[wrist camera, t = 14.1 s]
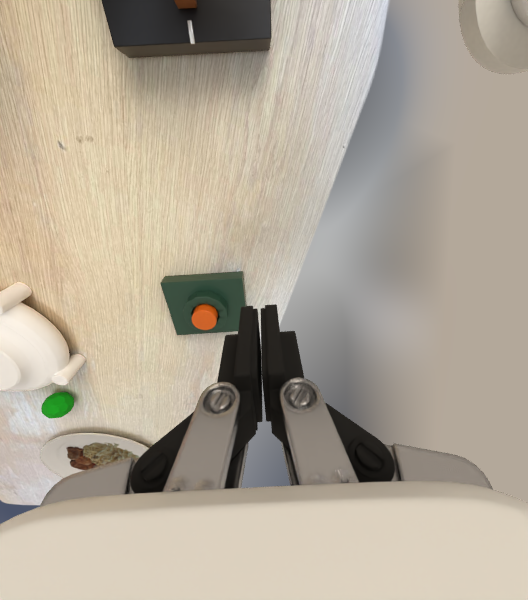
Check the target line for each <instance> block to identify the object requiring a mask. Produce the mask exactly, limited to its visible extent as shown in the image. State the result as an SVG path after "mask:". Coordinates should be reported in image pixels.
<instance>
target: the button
mask: <svg viewBox="0 0 528 600" xmlns="http://www.w3.org/2000/svg"><path fill="white" fill-rule="evenodd" d="M217 317H218V313H217V310H216V309H215V308H214V307H213V306H211V305H208V304H202V305H199V306H197V307H196V308H195V310H194V312H193V315H192V323H193V325H194V326H195V327H197V328H198V329H201V330H209V329H212V328H213V327H214V326H215V325H216V322H217Z"/></svg>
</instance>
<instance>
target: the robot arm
mask: <svg viewBox="0 0 528 600" xmlns="http://www.w3.org/2000/svg"><path fill="white" fill-rule="evenodd" d="M511 3H512V7H513V10H514V11H515V13H516V15H517V17H518V19H519V20H520V21H521V22H522V23H523V24H524V25H525V26H528V0H511ZM261 351H262V367H261ZM262 380H263V391H264V401H265V412H266V421H271V425H272V433H273V434H274V435H275V436H276V437H277V438H278V439H279V440H280V441H281V443H282V449H283V453H284V458H285V462H286V467H287V471H288V476H289V481H290V485H291V486H277V487H276V486H275V487H254V488H241V485H242V480H243V474H244V468H245V462H246V456H247V450H248V442H249V441H250V439H251V438H252V437H253V436H254V435H255V434H256V430H257V422H262ZM0 600H528V503H527V502H525V501H523V500H520V499H518V498H515V497H513V496H510V495H507V494H505V493H502V492H499V491H496V490H493V489H492V486H491V484H490V482H489V481H488V479H487V478H486V476H485V475H484V473H483V472H482V471H481V470H480V469H479V468H478V467H477V466H476V465H475V464H473V463H472V462H470V461H469V460H467V459H465V458H463V457H460V456H457V455H453V454H448V453H442V452H437V451H431V450H427V449H421V448H416V447H411V446H405V445H399V444H393V446H390V445H385V444H383V443H382V442H381V441H380V440H378V439H377V438H376V437H374V436H373V435H371V434H370V433H368V432H367V431H366V430H364V429H363V428H361V427H360V426H358V425H357V424H355V423H354V422H352V421H351V420H350V419H348V418H347V417H345V416H344V415H342V414H341V413H340V412H338V411H337V410H335V409H334V408H332V407H331V406H329V405H328V404H327V403H325V402H324V399H323V397H322V395H321V393H320V390H319V389H318V387H317V386H316V385H315V384H314V383H313V382H311V381H310V380H308V379H304V375H303V370H302V365H301V360H300V354H299V349H298V344H297V339H296V334H295V331H287V332H280V330H279V322H278V313H277V305H265V308H261V344H260V333H259V322H258V311H257V309H253V306H243V307H241V311H240V321H239V330H238V334H235V335H226V336H225V341H224V346H223V352H222V358H221V364H220V370H219V376H218V381H217V383H215V384H212V385H211V386H209V387H207V388H206V389H205V390H204V391H203V393H202V394H201V396H200V398H199V401H198V403H197V406H196V408H195V411H194V412H193V413H192V414H191V415H190V416H188V417H187V418H186V419H185V420H183V421H182V422H181V423H180V424H179V425H177V426H176V427H175V428H174V429H172V430H171V431H170V432H169V433H168V434H166V435H165V436H164V437H163V438H161V439H160V440H159V441H158V442H156V443H155V444H154V445H153V446H152V447H150V448H149V449H148V450H147V451H146V452H145V453H144V454H143V455H142V456H141V457H139V458H135V459H133V457H129V458H125V459H122V460H119V461H115V462H112V463H108V464H105V465H102V466H98V467H95V468H91V469H88V470H85V471H81V472H78V473H74V474H72V475H69V476H67V477H65V478H63V479H62V480H61V481H59V482H58V483H57V484H55V485H54V486H53V487H52V489H51V490H50V491H49V492H48V493H47V494H46V496H45V498H44V500H43V501H42V503H41V505H40V507H38V508H35V509H33V510H31V511H28V512H25V513H23V514H20V515H18V516H16V517H14V518H12V519H10V520H8V521H6V522H4V523H2V524H0Z"/></svg>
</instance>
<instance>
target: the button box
mask: <svg viewBox="0 0 528 600" xmlns="http://www.w3.org/2000/svg"><path fill="white" fill-rule="evenodd" d="M161 286H162V289H163V293H164V296H165V299H166V302H167V305H168V308H169V311H170V314H171V317H172V320H173V323H174V327H175V330H176V333H177V335H187V334H202V333H217V332H233V331H238V330H239V321H240V311H241V307H243V306H246V296H245V287H244V278H243V272H227V273H211V274H195V275H180V276H165V277H164V279H163V280H162V282H161ZM202 304H208V305H211V306H213V307H214V308H215V309H216V310H217V313H218V317H217V322H216V325H215V326H214V327H213V328H212V329H209V330H201V329H198V328H197V327H195V326H194V325H193V323H192V315H193V312H194V310H195V308H196V307H197V306H199V305H202Z"/></svg>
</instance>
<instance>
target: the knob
mask: <svg viewBox="0 0 528 600" xmlns="http://www.w3.org/2000/svg"><path fill="white" fill-rule="evenodd" d="M174 1H175V3H176V5H177V7H178V9H183V8H197V3H196V0H174Z"/></svg>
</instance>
